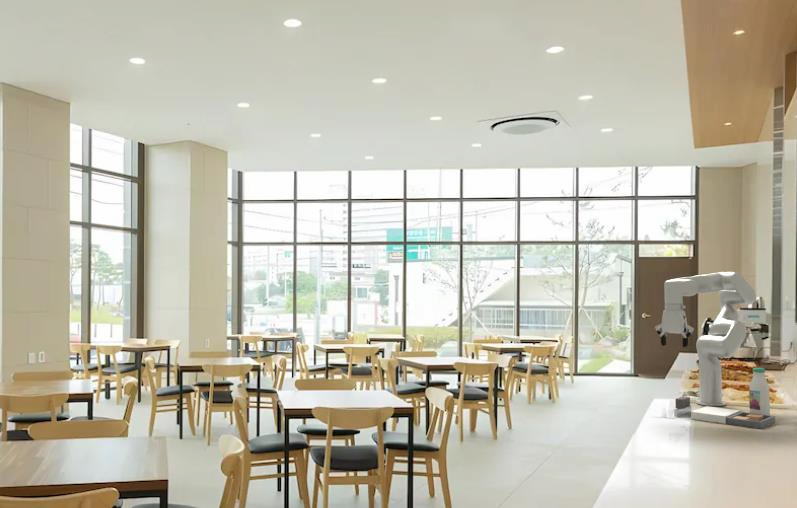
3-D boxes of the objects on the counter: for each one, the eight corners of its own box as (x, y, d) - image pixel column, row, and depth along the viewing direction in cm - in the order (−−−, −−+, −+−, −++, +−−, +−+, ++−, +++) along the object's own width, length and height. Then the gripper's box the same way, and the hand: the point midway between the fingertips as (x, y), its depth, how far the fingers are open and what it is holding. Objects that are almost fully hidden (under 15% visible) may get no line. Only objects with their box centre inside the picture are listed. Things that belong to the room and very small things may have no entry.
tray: (741, 417, 301) (741, 411, 301) (774, 422, 292) (774, 416, 292) (726, 423, 290) (726, 417, 290) (761, 428, 281) (760, 422, 281)
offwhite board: (706, 413, 311) (706, 406, 311) (740, 417, 301) (740, 410, 301) (691, 418, 300) (691, 411, 300) (725, 423, 290) (725, 416, 290)
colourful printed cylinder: (765, 413, 310) (764, 366, 310) (772, 417, 302) (772, 369, 303) (746, 413, 311) (745, 366, 311) (753, 416, 303) (752, 369, 303)
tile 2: (763, 415, 293) (763, 420, 293) (750, 413, 297) (751, 418, 297) (759, 417, 290) (759, 422, 290) (746, 415, 293) (746, 420, 293)
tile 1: (737, 420, 293) (737, 415, 293) (750, 422, 289) (750, 417, 289) (732, 422, 290) (732, 417, 290) (745, 424, 286) (745, 419, 286)
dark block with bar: (686, 411, 317) (686, 395, 317) (693, 412, 315) (693, 396, 315) (672, 416, 306) (672, 399, 307) (679, 417, 304) (678, 400, 304)
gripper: (696, 308, 317) (697, 346, 316) (658, 306, 329) (659, 344, 329) (689, 308, 311) (690, 348, 311) (651, 307, 324) (651, 345, 323)
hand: (674, 346), depth 320 cm, fingers open, 9 cm apart
